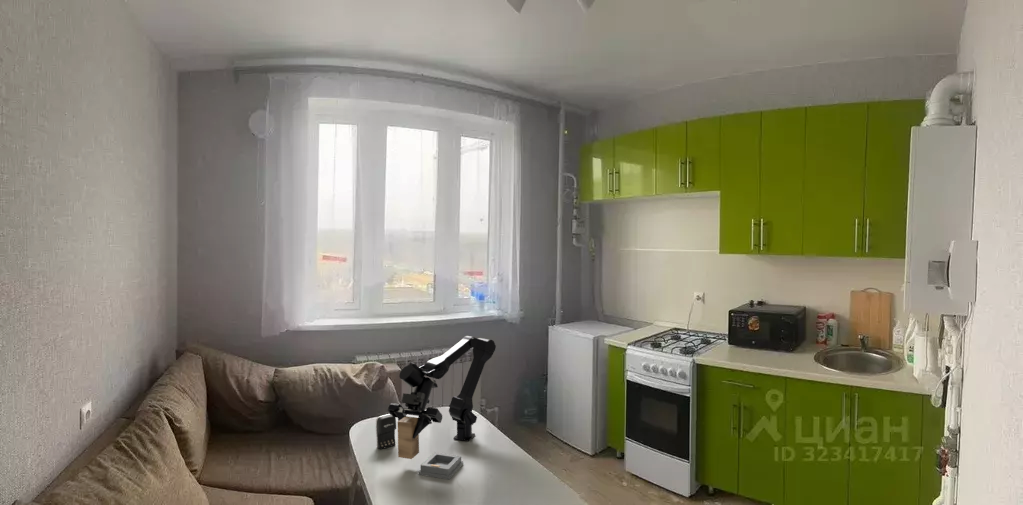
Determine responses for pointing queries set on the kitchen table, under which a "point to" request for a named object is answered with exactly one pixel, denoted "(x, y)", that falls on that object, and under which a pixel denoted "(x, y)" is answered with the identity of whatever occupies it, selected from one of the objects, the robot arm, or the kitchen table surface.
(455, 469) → the square gray tray
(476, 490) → the kitchen table surface
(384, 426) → the battery charger
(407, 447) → the tall cardboard box
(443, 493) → the kitchen table surface
